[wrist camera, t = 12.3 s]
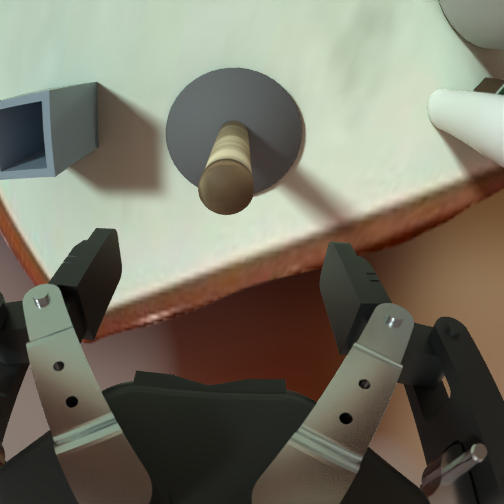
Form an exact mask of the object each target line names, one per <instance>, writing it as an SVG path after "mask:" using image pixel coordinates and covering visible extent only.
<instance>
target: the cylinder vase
mask: <svg viewBox="0 0 504 504" xmlns="http://www.w3.org/2000/svg"><path fill="white" fill-rule="evenodd" d="M439 2H440V5H441V8H442V10H443V12H444V14H445V16H446V17H447V19H448V21H449V22H450V24H451V25H452V26H453V28H454V29H455V30H456V31H457V32H458V33H459V34H460V35H461V36H462V37H463V38H464V39H466V40H467V41H468V42H470V43H472V44H473V45H475V46H478V47H481V48H485V49H496V50H504V0H439Z"/></svg>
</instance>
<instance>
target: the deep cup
mask: <svg viewBox="0 0 504 504" xmlns="http://www.w3.org/2000/svg"><path fill="white" fill-rule="evenodd" d="M97 148H98V126H97V82H92V83H84V84H77V85H69V86H63V87H57V88H51V89H45V90H40V91H36V92H31V93H27V94H23V95H19V96H15V97H11V98H7V99H4V100H0V180H4V179H18V178H36V177H56V176H57V175H58V174H60V173H61V172H63V171H64V170H65V169H67V168H68V167H70V166H71V165H73V164H74V163H75V162H77V161H78V160H80V159H81V158H83V157H84V156H86V155H87V154H89V153H91V152H92V151H94V150H95V149H97Z"/></svg>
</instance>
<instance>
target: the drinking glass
mask: <svg viewBox="0 0 504 504" xmlns="http://www.w3.org/2000/svg"><path fill="white" fill-rule="evenodd" d="M427 110H428V115H429V118H430V120H431V122H432V123H433V124H434V125H435V126H436V127H437V128H438V129H440V130H442V131H445V132H447V133H449V134H450V135H452V136H454V137H456V138H457V139H459V140H460V141H462V142H464V143H465V144H467V145H468V146H470V147H471V148H473V149H474V150H476V151H477V152H479V153H480V154H482V155H483V156H485V157H486V158H488V159H489V160H491V161H492V162H494V163H496V164H497V165H499V166H501V167H503V168H504V95H500V94H493V93H485V92H475V91H465V90H454V89H449V88H440V89H437V90H436V91H434V92H433V93H432V94H431V96H430V98H429V100H428V105H427Z"/></svg>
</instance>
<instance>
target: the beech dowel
mask: <svg viewBox="0 0 504 504" xmlns="http://www.w3.org/2000/svg"><path fill="white" fill-rule="evenodd" d="M198 192H199V196H200V199H201V201H202V202H203V204H204V205H205V206H206V207H207V208H208V209H209V210H211V211H213V212H215V213H217V214H222V215H231V214H235V213H238V212H240V211H242V210H243V209H245V208H246V207H247V206H248V205H249V203H250V202H251V200H252V197H253V194H254V184H253V177H252V171H251V160H250V148H249V137H248V130H247V128H246V126H245V125H244V124H243V123H241V122H239V121H228V122H226V123H224V124H223V125H222V126H221V128H220V130H219V133H218V135H217V138H216V141H215V143H214V146H213V148H212V151H211V154H210V156H209V159H208V162H207V165H206V167H205V170H204V171H203V173H202V176H201V179H200V181H199V186H198Z"/></svg>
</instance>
